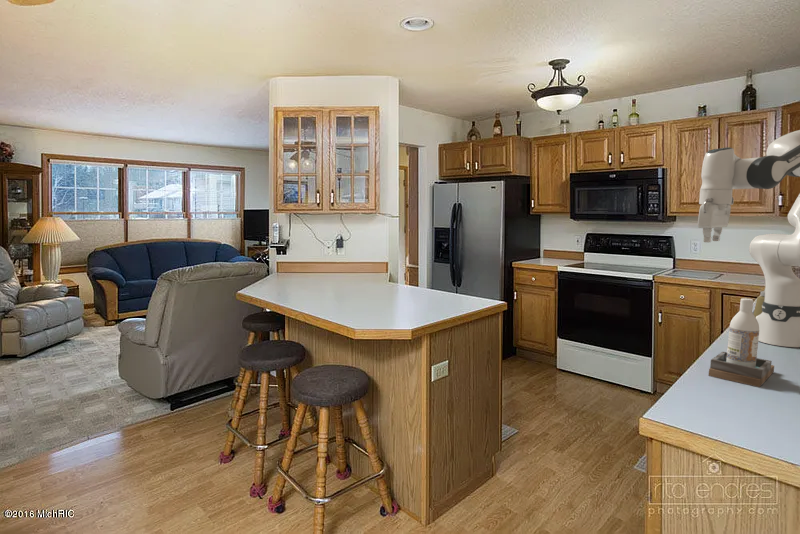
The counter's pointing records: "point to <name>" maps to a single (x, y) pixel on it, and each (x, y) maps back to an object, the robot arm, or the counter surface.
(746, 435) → the counter surface
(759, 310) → the squeeze bottle
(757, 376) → the tray
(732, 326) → the bath foam
